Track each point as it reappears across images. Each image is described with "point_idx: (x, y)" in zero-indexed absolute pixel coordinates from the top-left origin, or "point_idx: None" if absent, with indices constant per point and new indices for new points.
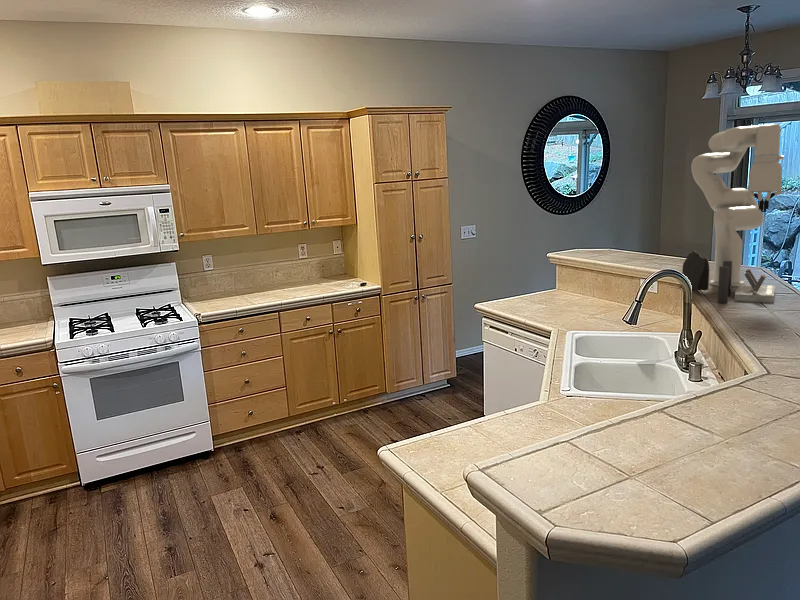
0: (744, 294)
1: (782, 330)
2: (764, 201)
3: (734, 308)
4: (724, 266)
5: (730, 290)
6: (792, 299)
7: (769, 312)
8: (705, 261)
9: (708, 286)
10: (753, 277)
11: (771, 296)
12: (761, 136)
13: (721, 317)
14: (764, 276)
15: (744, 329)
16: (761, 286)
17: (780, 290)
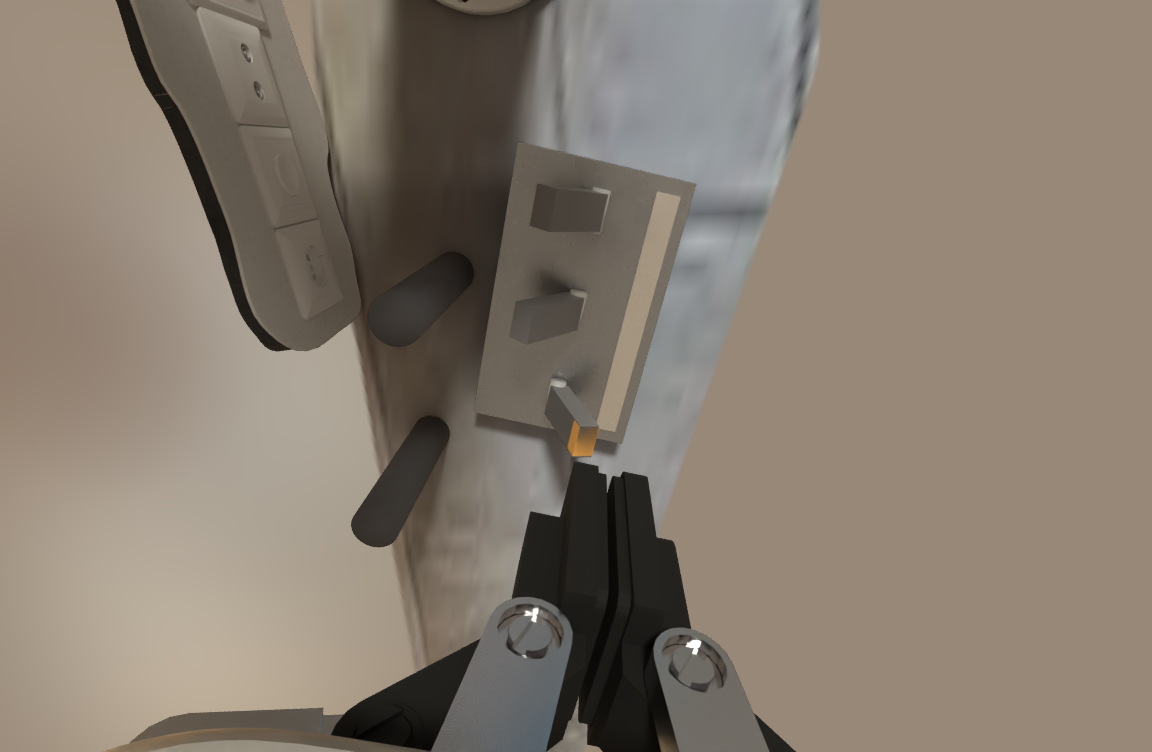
0: (511, 417)
1: (560, 743)
2: (585, 721)
3: (468, 522)
4: (376, 513)
5: (466, 286)
6: (714, 357)
7: None
8: (260, 335)
9: (354, 318)
10: (576, 230)
11: (613, 440)
12: None
13: (420, 635)
14: (588, 446)
15: None
16: (623, 207)
17: (735, 121)
